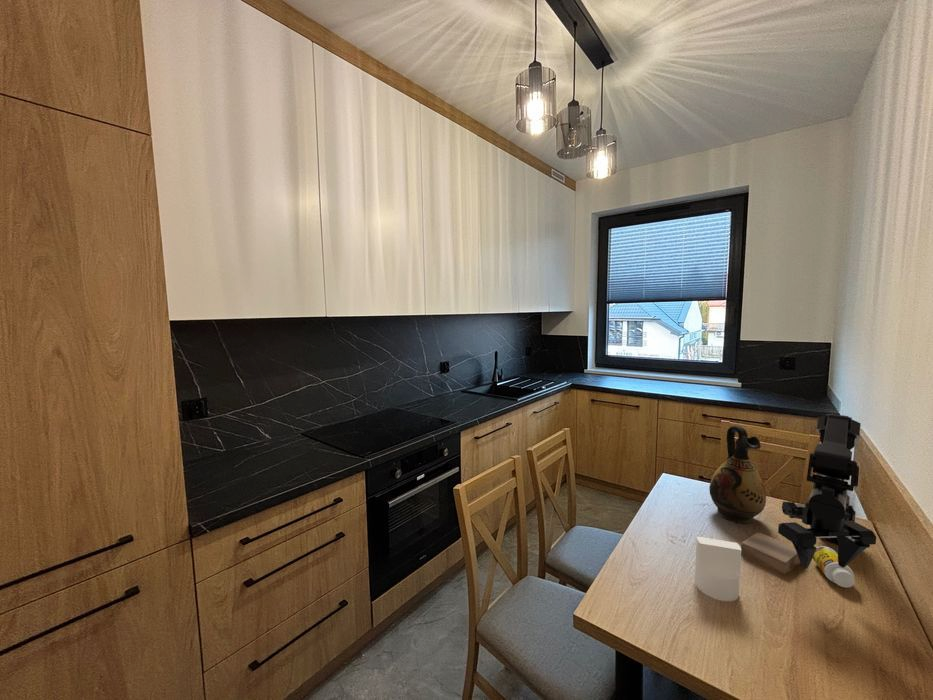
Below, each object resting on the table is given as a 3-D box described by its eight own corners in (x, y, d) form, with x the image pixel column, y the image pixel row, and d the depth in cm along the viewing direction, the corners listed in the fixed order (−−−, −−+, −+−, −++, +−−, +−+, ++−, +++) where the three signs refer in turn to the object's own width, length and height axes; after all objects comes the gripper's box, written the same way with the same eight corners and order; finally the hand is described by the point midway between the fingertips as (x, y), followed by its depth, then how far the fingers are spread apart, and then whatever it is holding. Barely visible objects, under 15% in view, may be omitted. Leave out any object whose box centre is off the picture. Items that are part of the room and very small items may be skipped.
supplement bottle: (818, 541, 101) (838, 564, 91) (842, 553, 99) (865, 578, 90) (805, 556, 102) (824, 581, 93) (829, 569, 100) (850, 595, 91)
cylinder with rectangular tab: (731, 581, 95) (733, 536, 94) (744, 607, 87) (747, 558, 86) (690, 573, 98) (692, 529, 97) (699, 598, 90) (702, 550, 88)
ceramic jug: (777, 528, 118) (784, 435, 115) (727, 528, 118) (733, 436, 115) (739, 501, 135) (744, 420, 132) (695, 501, 135) (700, 420, 132)
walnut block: (757, 544, 110) (758, 532, 110) (800, 564, 102) (801, 550, 101) (740, 556, 105) (741, 542, 105) (784, 577, 97) (785, 562, 96)
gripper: (831, 487, 96) (826, 545, 98) (761, 489, 95) (757, 547, 97) (881, 509, 85) (874, 574, 86) (802, 512, 84) (797, 577, 86)
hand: (822, 567), depth 89 cm, fingers open, 9 cm apart
